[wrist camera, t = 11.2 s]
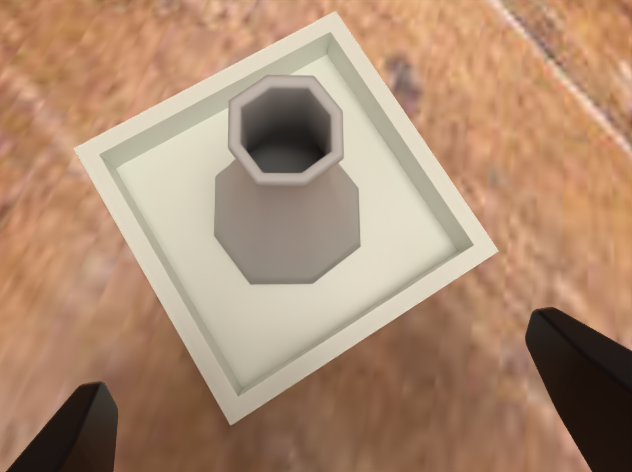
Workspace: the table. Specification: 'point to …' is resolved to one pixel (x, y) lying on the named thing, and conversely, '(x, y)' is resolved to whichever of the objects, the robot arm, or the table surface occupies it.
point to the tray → (282, 299)
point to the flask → (286, 184)
